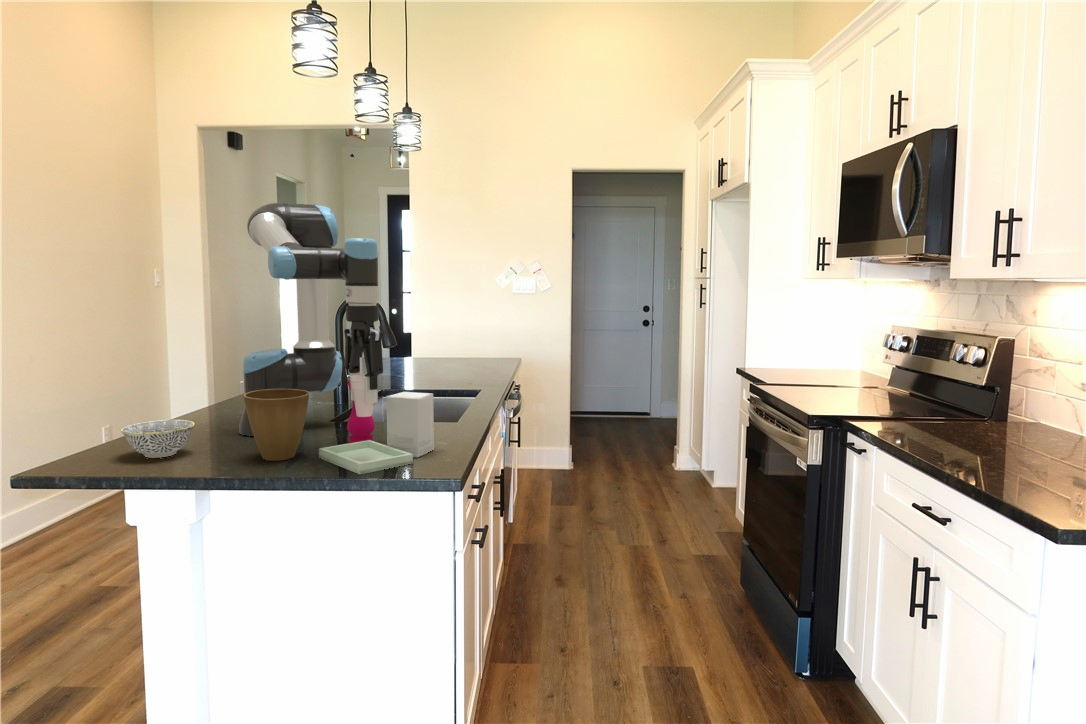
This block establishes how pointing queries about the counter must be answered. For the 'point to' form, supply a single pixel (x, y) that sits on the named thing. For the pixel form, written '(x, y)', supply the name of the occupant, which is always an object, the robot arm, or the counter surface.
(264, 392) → the plant pot
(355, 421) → the pepper mill
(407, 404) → the supplement box
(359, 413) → the smoothie
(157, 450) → the bowl
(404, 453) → the tray
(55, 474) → the counter surface
